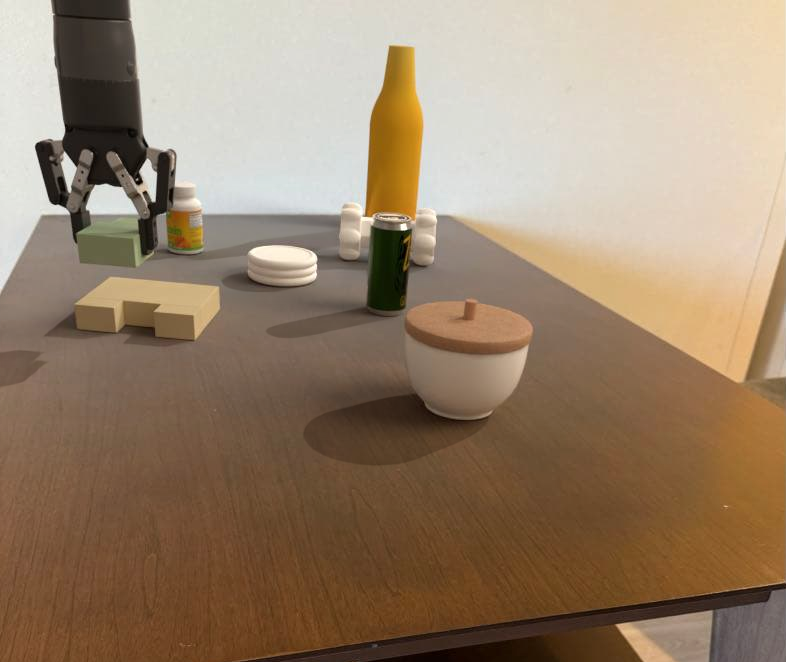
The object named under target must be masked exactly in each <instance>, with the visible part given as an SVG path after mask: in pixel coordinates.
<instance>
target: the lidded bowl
mask: <svg viewBox="0 0 786 662" xmlns="http://www.w3.org/2000/svg"><path fill="white" fill-rule="evenodd" d="M478 301H479V300H477V299H474V298H468V299H467V298H466V299H465V300H464V301H458V300H456V301H455V300H452V301H451V300H450V301H449V300H448V301H446V300H445V301H434V302H427V303H423V304H420V305H417V306H413V307H412V308H411V309H409V310H408V311H407V313H405V317H404V330H405V333H404V363H405V369H406V374H407V378H408V380H409V383H410V385H411V387H412V389H413V390H414V392H415V393H416V394H417V396H418V397H419V398H420V399H421V400H422V401H423V402H424V407H425V408H426V409H427V410H428V411H430V412H431V413H433V414H435V415H437V416H440V417H444V418H447V419H451V420H452V419H453V420H457V421H460V420H461V421H474V420H480V419H483V418H486V417H489V416H491V414H492V413H493V411H494V410H495V409H497V408H498V407H500V406H501V405H502V404H504V403H505V402H506V401H507V400H508V399H509V397H510V396H511V395H512V394H513V393H514V391H515V390H516V388H517V387H518V385H519V382H520V380H521V378H522V376H523V373H524V369H525V367H526V362H527V358H528V353H529V348H530V343H531V341H532V336H533V333H534V328H533V326H532V324H531V322H530V321H529V320H528V319H527V318H525V317H524V316H522V315H521V314H519V313H516V312H514V311H512V310H509V309H506V308H503V307H498V306H495V305H490V304H485V303H479V302H478Z"/></svg>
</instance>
